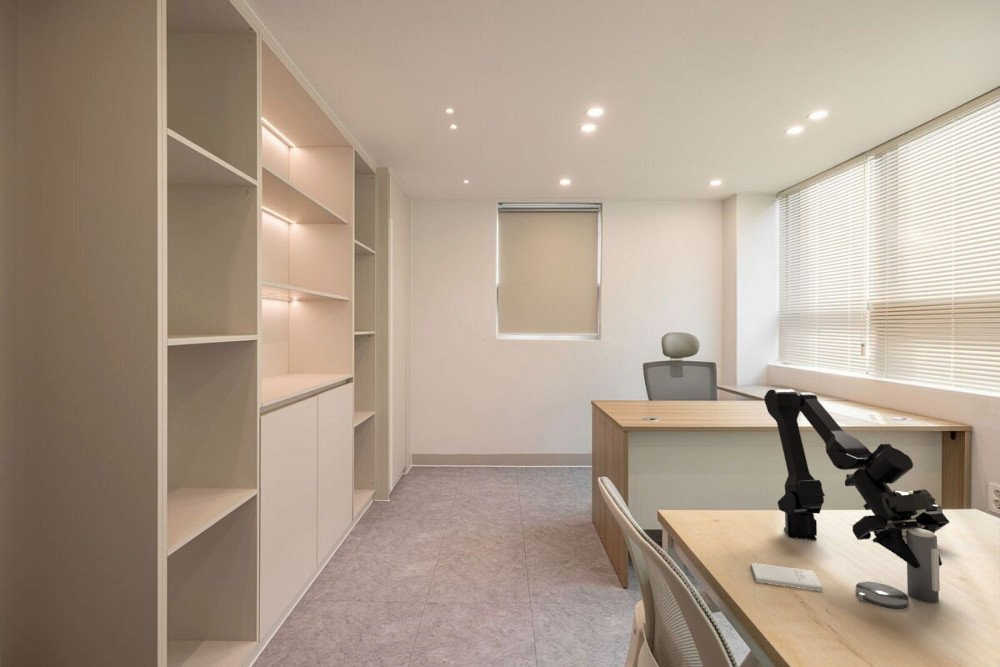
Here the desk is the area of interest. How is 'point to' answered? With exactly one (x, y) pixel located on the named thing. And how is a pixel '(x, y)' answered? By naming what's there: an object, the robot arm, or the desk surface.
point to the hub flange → (882, 595)
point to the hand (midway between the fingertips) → (929, 566)
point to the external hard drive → (785, 576)
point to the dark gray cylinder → (923, 565)
